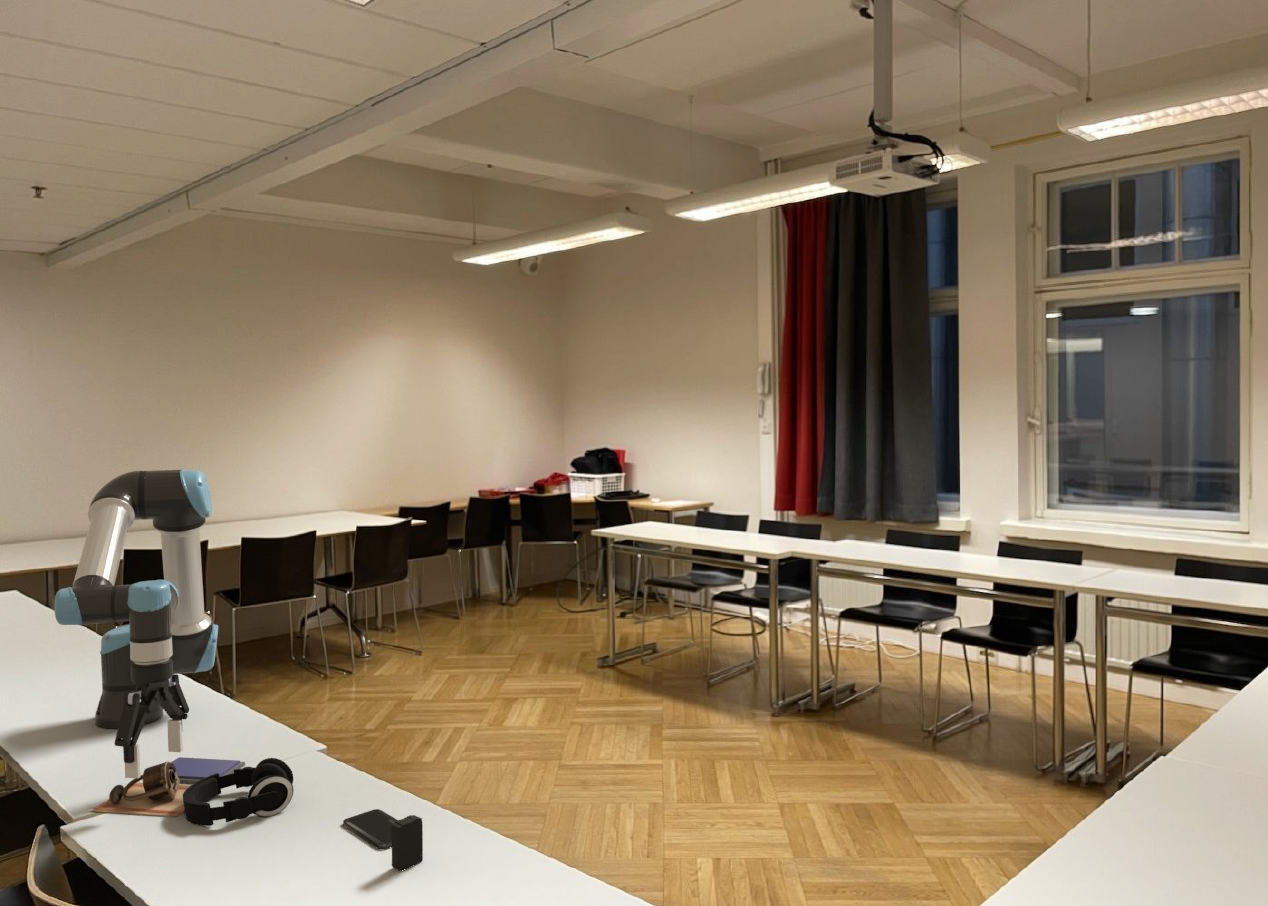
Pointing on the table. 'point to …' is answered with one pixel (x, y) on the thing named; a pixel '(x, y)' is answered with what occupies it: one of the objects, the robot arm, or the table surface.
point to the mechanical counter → (151, 784)
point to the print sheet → (146, 804)
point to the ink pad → (203, 768)
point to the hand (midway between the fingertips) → (154, 764)
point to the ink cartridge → (407, 842)
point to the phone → (372, 827)
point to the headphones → (263, 797)
